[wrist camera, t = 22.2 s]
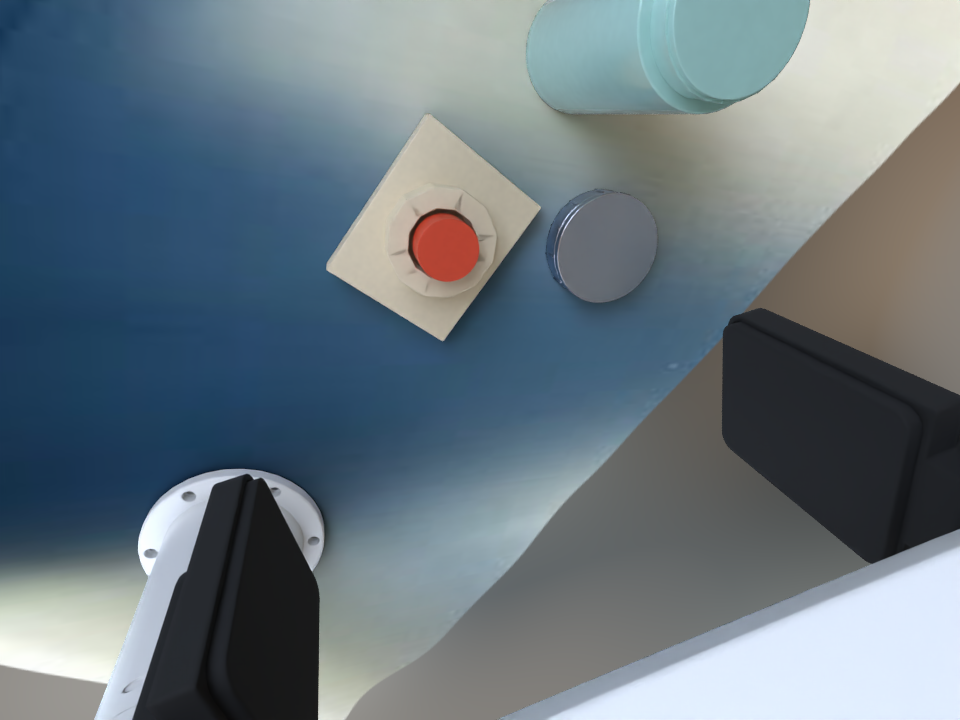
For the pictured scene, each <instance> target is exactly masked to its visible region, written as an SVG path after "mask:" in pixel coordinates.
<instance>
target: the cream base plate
mask: <svg viewBox="0 0 960 720" xmlns="http://www.w3.org/2000/svg"><path fill="white" fill-rule="evenodd" d="M540 209H541V207H540V206H539V205H538V204H537V203H536V202H534V201H533V200H532V199H531V198H530V197H528V196H527V195H526V194H525V193H524V192H523V191H521V190H520V189H519V188H518V187H517V186H515V185H514V184H513V183H512V182H511V181H509V180H508V179H507V178H506V177H505V176H504V175H502V174H501V173H500V172H499V171H498V170H496V169H495V168H494V167H493V166H492V165H490V164H489V163H488V162H487V161H486V160H485V159H483V158H482V157H481V156H480V155H479V154H477V153H476V152H475V151H474V150H473V149H471V148H470V147H469V146H468V145H467V144H466V143H464V142H463V141H462V140H461V139H460V138H458V137H457V136H456V135H455V134H454V133H452V132H451V131H450V130H449V129H448V128H447V127H445V126H444V125H443V124H442V123H441V122H439V121H438V120H437V119H436V118H435V117H433V116H432V115H431V114H425V115H424V117H423V118H422V120H421V121H420V123H419V124H418V126H417V127H416V129H415V130H414V132H413V133H412V135H411V136H410V138H409V139H408V141H407V142H406V144H405V145H404V147H403V148H402V150H401V151H400V153H399V154H398V156H397V158H396V159H395V161H394V162H393V164H392V165H391V167H390V168H389V170H388V171H387V173H386V174H385V176H384V177H383V179H382V180H381V182H380V183H379V185H378V186H377V188H376V189H375V191H374V192H373V194H372V195H371V197H370V198H369V200H368V201H367V203H366V205H365V206H364V208H363V209H362V211H361V212H360V214H359V215H358V217H357V218H356V220H355V221H354V223H353V224H352V226H351V227H350V229H349V230H348V232H347V233H346V235H345V236H344V238H343V239H342V241H341V242H340V244H339V245H338V247H337V248H336V250H335V252H334V253H333V255H332V256H331V258H330V259H329V261H328V262H327V271H329V272H330V273H332V274H334V275H335V276H337V277H339V278H340V279H342V280H343V281H345V282H347V283H348V284H350V285H352V286H353V287H355V288H356V289H358V290H360V291H361V292H363V293H365V294H366V295H368V296H369V297H371V298H373V299H374V300H376V301H378V302H379V303H381V304H383V305H384V306H386V307H387V308H389V309H391V310H392V311H394V312H396V313H397V314H399V315H400V316H402V317H404V318H405V319H407V320H409V321H410V322H412V323H413V324H415V325H417V326H418V327H420V328H422V329H423V330H425V331H426V332H428V333H430V334H431V335H433V336H435V337H436V338H438V339H439V340H441V341H444V339H445V338H446V337H447V335H448V334H449V333H450V331H451V330H452V329H453V327H454V326H455V324H456V323H457V322H458V320H459V319H460V318H461V316H462V315H463V314H464V312H465V311H466V309H467V308H468V307H469V305H470V304H471V303H472V301H473V300H474V299H475V297H476V296H477V295H478V293H479V292H480V290H481V289H482V288H483V286H484V285H485V284H486V282H487V281H488V280H489V278H490V277H491V276H492V274H493V273H494V271H495V270H496V269H497V267H498V266H499V265H500V263H501V262H502V261H503V259H504V258H505V256H506V255H507V254H508V252H509V251H510V250H511V248H512V247H513V246H514V244H515V243H516V242H517V240H518V239H519V237H520V236H521V235H522V233H523V232H524V231H525V229H526V228H527V227H528V225H529V224H530V223H531V221H532V220H533V218H534V217H535V216H536V214H537V213H538V212H539V210H540ZM437 213H447V214H451V215H454V216H456V217H458V218H459V219H461V220H462V221H463V222H465V223H466V224H467V225H468V226H469V227H471V229H472V230H473V231H474V232H475V234H476V236H477V238H478V242H479V257H478V260H477V263H476V265H475V266H474V268H473V269H472V270H471V272H470V273H469V274H467V275H466V276H465V277H463V278H461V279H459V280H456V281H452V282H443V281H438V280H436V279H433V278H432V277H430V276H429V275H428V274H427V273H426V272H425V271H424V270H423V269H422V267H421V266H420V264H419V262H418V261H417V259H416V257H415V255H414V252H413V247H412V240H413V235H414V232H415V230H416V228H417V227H418V225H419V224H420V223H421V222H422V221H423V220H424V219H425V218H427V217H429V216H431V215H433V214H437Z"/></svg>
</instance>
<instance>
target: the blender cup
mask: <svg viewBox="0 0 960 720" xmlns="http://www.w3.org/2000/svg"><path fill="white" fill-rule="evenodd" d="M809 5H810V0H547V1H546V2H545V3H544V5H543V6H542V7H541V8H540V10H539V11H538V13H537V15H536V16H535V18H534V20H533V23H532V25H531V28H530V31H529V34H528V39H527V46H526V62H527V69H528V73H529V77H530V79H531V82H532V84H533V86H534V88H535V90H536V92H537V93H538V95H539V96H540V97H541V98H542V99H543V101H544V102H545V103H547V104H548V105H549V106H550V107H552V108H554V109H555V110H557V111H560V112H563V113H567V114H708V113H713V112H717V111H719V110H722V109H725V108H727V107H729V106H730V105H732V104H734V103H736V102H738V101H742V100H744V99H746V98H748V97H750V96H752V95H754V94H756V93H758V92H760V91H761V90H762V89H763V88H764V87H766V86H767V85H768V84H769V83H770V82H771V81H773V80H774V79H775V78H776V77H777V75H778V74H779V73H780V72H781V71H782V69H783V68H784V67H785V65H786V64H787V63H788V62H789V60H790V58H791V56H792V55H793V53H794V51H795V49H796V47H797V45H798V43H799V41H800V39H801V36H802V33H803V31H804V28H805V24H806V20H807V17H808V11H809Z"/></svg>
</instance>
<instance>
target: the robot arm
mask: <svg viewBox="0 0 960 720" xmlns="http://www.w3.org/2000/svg"><path fill="white" fill-rule="evenodd" d="M722 391H723V392H722V398H723V399H722V435H723V438H724V440H725V443H726V444H727V446H728V447H729V448H730V449H731V450H732V451H733V452H734V453H736V454H737V455H738V456H739V457H740V458H742V459H743V460H744V461H745V462H747V463H748V464H749V465H750V466H751V467H753V468H754V469H755V470H756V471H757V472H759V473H760V474H761V475H762V476H764V477H765V478H766V479H767V480H768V481H769V482H771V483H772V484H773V485H774V486H775V487H777V488H778V489H779V490H780V491H782V492H783V493H784V494H785V495H786V496H788V497H789V498H790V499H791V500H792V501H794V502H795V503H796V504H797V505H798V506H800V507H801V508H802V509H803V510H805V511H806V512H807V513H808V514H809V515H811V516H812V517H813V518H814V519H815V520H817V521H818V522H819V523H820V524H821V525H823V526H824V527H825V528H826V529H827V530H829V531H830V532H831V533H832V534H834V535H835V536H836V537H837V538H838V539H840V540H841V541H842V542H843V543H844V544H846V545H847V546H848V547H849V548H850V549H852V550H853V551H854V552H855V553H856V554H858V555H859V556H860V557H862V558H863V559H864V560H865V561H867V562H869V563H871V565H868V566H866V567H864V568H861V569H859V570H856V571H854V572H851V573H849V574H846V575H844V576H842V577H839V578H837V579H834V580H832V581H829V582H827V583H824V584H822V585H819V586H817V587H814V588H812V589H809V590H807V591H804V592H802V593H800V594H797V595H795V596H792V597H790V598H787V599H785V600H783V601H780V602H778V603H775V604H773V605H770V606H768V607H766V608H763V609H761V610H758V611H756V612H753V613H751V614H749V615H746V616H744V617H741V618H739V619H737V620H734V621H732V622H729V623H727V624H724V625H722V626H719V627H717V628H715V629H712V630H710V631H707V632H705V633H703V634H700V635H698V636H695V637H693V638H690V639H688V640H686V641H683V642H681V643H678V644H676V645H674V646H671V647H669V648H666V649H664V650H662V651H659V652H657V653H655V654H652V655H650V656H647V657H645V658H642V659H640V660H637V661H635V662H633V663H630V664H628V665H625V666H623V667H621V668H618V669H616V670H614V671H611V672H608V673H606V674H604V675H601V676H599V677H597V678H594V679H592V680H590V681H587V682H585V683H582V684H580V685H578V686H575V687H573V688H570V689H568V690H566V691H563V692H561V693H559V694H556V695H554V696H551V697H549V698H547V699H544V700H542V701H539V702H537V703H535V704H533V705H530V706H528V707H526V708H523V709H520V710H518V711H516V712H513V713H511V714H509V715H506V716H504V717H501V718H499V719H497V720H960V395H958V394H956V393H954V392H951V391H949V390H947V389H944V388H942V387H940V386H938V385H935V384H933V383H931V382H929V381H926V380H924V379H922V378H920V377H917V376H915V375H913V374H910V373H908V372H906V371H904V370H901V369H899V368H897V367H895V366H892V365H890V364H888V363H886V362H883V361H881V360H879V359H877V358H874V357H872V356H870V355H868V354H865V353H863V352H861V351H859V350H856V349H854V348H851V347H850V346H847V345H845V344H843V343H841V342H838V341H836V340H834V339H832V338H829V337H827V336H825V335H822V334H820V333H818V332H816V331H813V330H811V329H809V328H807V327H804V326H802V325H800V324H798V323H795V322H793V321H791V320H789V319H786V318H784V317H782V316H779V315H777V314H775V313H773V312H770V311H768V310H766V309H762V308H758V309H755V310H751V311H749V312H745V313H742V314H739V315H736V316H733V317H732V318H731V319H730V321H729V323H728V326H726V327H725V329H724V331H723V390H722ZM324 537H325V536H324V522H323V519H322V515H321V512H320V510H319V508H318V507H317V505H316V503H315V502H314V500H313V499H312V498H311V497H310V496H309V495H308V494H307V493H306V492H305V491H304V490H303V489H302V488H300V487H299V486H297V485H296V484H294V483H293V482H291V481H289V480H287V479H285V478H282V477H280V476H278V475H275V474H271V473H267V472H264V471H259V470H250V469H224V470H218V471H213V472H208V473H204V474H201V475H198V476H195V477H192V478H190V479H187V480H186V481H184V482H182V483H180V484H178V485H176V486H175V487H173V488H172V489H170V490H169V491H168V492H167V493H165V494H164V495H163V496H162V497H160V499H159V500H158V501H157V502H156V503H155V505H154V506H153V507H152V508H151V510H150V512H149V514H148V516H147V517H146V519H145V521H144V523H143V526H142V529H141V532H140V535H139V543H138V552H139V557H140V561H141V564H142V566H143V568H144V570H145V572H146V574H147V576H148V577H149V578H148V581H147V584H146V586H145V589H144V591H143V594H142V597H141V599H140V602H139V604H138V607H137V610H136V612H135V615H134V617H133V620H132V623H131V625H130V628H129V631H128V633H127V636H126V638H125V641H124V644H123V646H122V649H121V651H120V654H119V657H118V659H117V662H116V665H115V667H114V670H113V672H112V675H111V678H110V680H109V683H108V685H107V688H106V691H105V693H104V696H103V698H102V701H101V704H100V706H99V709H98V712H97V714H96V717H95V719H94V720H318V677H319V602H320V598H319V589H318V585H317V582H316V579H315V577H314V575H313V573H312V572H313V570H314V568H315V567H316V565H317V563H318V562H319V560H320V557H321V554H322V551H323V548H324Z"/></svg>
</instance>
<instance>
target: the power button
mask: <svg viewBox="0 0 960 720" xmlns="http://www.w3.org/2000/svg"><path fill="white" fill-rule="evenodd" d="M412 247H413V252H414V255H415V257H416V259H417V261H418V262H419V264H420V266H421V267H422V269H423V270H424V271H425V272H426V273H427V274H428V275H429V276H430V277H432V278H433V279H436V280H438V281H443V282H452V281H456V280H459V279H461V278H463V277H465V276H466V275H467V274H469V273H470V272H471V270H472V269H473V268H474V266H475V265H476V263H477V260H478V257H479V242H478V238H477V236H476V234H475V232H474V231H473V230H472V229H471V227H469V226H468V225H467V224H466V223H465V222H463V221H462V220H461V219H459V218H458V217H456V216H454V215H451V214H447V213H437V214H433V215H431V216H429V217H427V218H425V219H424V220H423V221H422V222H421V223H420V224H419V225H418V227H417V228H416V230H415V232H414V235H413V240H412Z"/></svg>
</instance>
